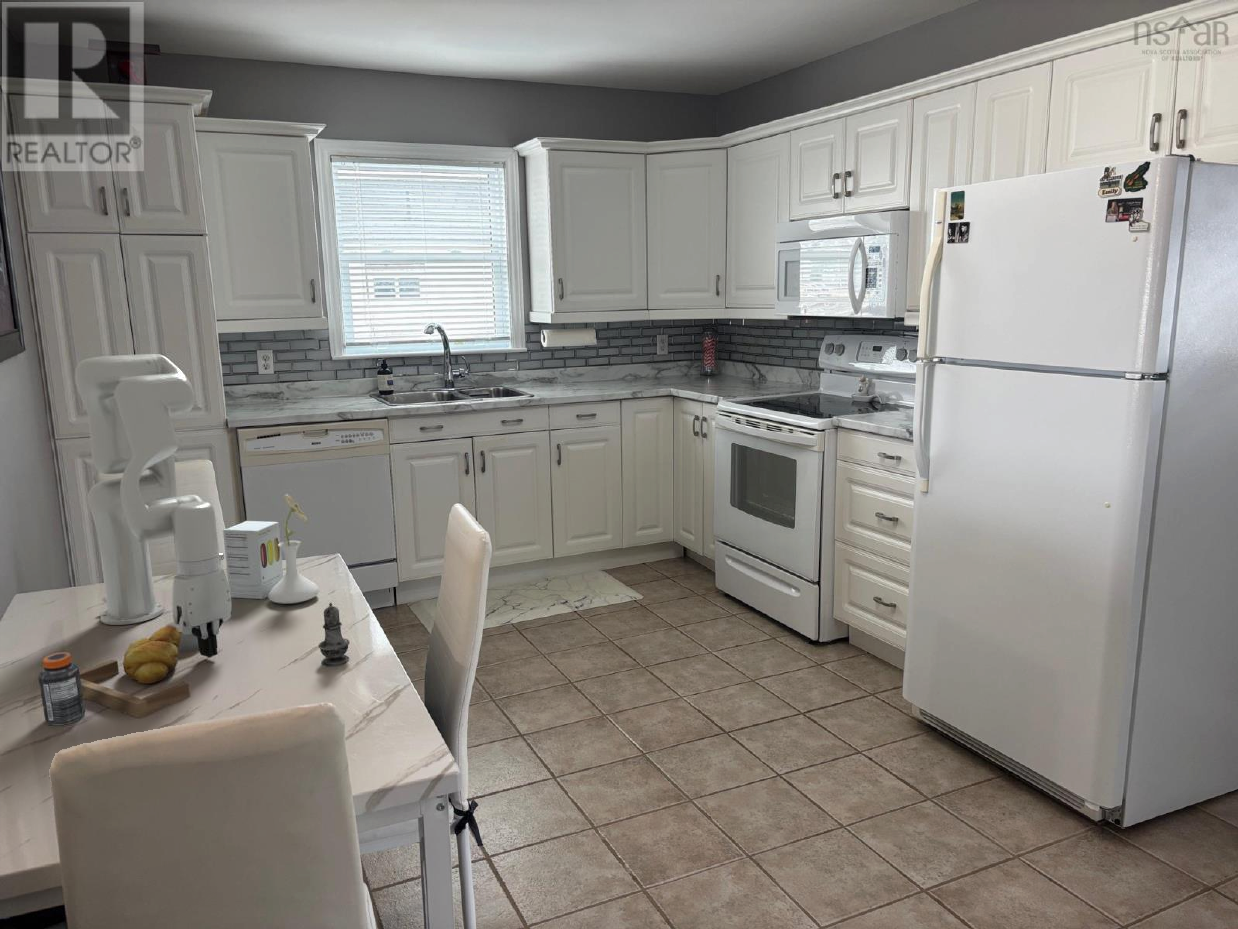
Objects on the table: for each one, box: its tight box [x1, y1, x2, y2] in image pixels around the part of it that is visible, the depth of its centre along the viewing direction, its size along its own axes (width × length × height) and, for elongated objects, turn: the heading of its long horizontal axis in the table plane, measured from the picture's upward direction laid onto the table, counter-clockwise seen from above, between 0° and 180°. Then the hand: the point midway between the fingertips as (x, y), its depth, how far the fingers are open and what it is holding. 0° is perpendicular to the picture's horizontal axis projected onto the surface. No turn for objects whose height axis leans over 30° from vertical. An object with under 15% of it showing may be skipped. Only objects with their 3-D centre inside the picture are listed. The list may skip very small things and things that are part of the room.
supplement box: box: [222, 520, 284, 600], centre depth 215 cm, size 10×9×17 cm
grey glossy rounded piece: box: [164, 621, 199, 653], centre depth 184 cm, size 8×8×4 cm
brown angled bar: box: [79, 659, 191, 719], centre depth 162 cm, size 23×10×2 cm, turn 60°
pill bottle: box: [38, 651, 86, 726], centre depth 152 cm, size 6×6×11 cm
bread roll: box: [122, 625, 181, 684], centre depth 170 cm, size 13×10×8 cm
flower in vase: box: [267, 493, 320, 605], centre depth 209 cm, size 13×11×25 cm
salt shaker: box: [317, 602, 350, 667], centre depth 174 cm, size 6×6×12 cm
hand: (208, 654), depth 176 cm, fingers closed
